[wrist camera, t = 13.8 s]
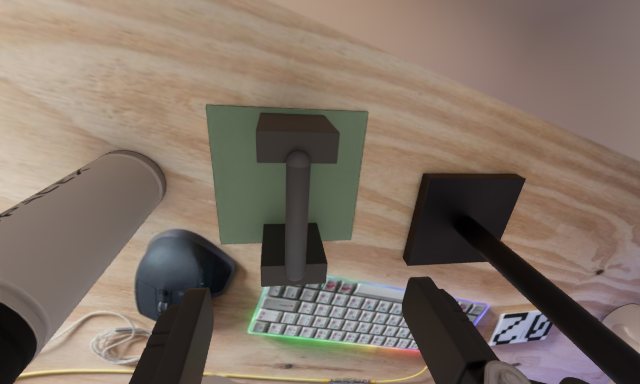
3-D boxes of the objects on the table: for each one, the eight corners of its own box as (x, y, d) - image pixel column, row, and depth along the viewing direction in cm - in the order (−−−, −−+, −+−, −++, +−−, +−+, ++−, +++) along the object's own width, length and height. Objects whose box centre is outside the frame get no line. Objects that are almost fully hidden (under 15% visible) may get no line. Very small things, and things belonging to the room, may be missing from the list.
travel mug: (160, 218, 29) (-25, 479, 11) (88, 195, 27) (-288, 473, 9) (178, 167, 27) (-15, 386, 9) (101, 138, 25) (-352, 349, 7)
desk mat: (206, 104, 25) (205, 105, 24) (367, 111, 27) (368, 112, 27) (221, 242, 31) (220, 244, 31) (350, 238, 33) (351, 240, 33)
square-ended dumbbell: (260, 112, 25) (254, 135, 18) (324, 114, 26) (344, 137, 19) (264, 241, 31) (260, 299, 24) (316, 240, 32) (328, 294, 25)
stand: (380, 173, 30) (792, 619, 6) (516, 173, 33) (1165, 485, 9) (366, 260, 35) (559, 687, 11) (484, 254, 38) (841, 590, 14)
